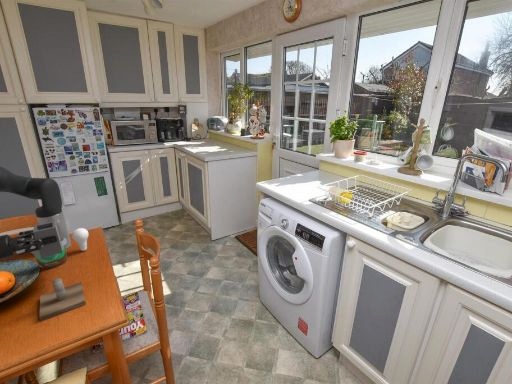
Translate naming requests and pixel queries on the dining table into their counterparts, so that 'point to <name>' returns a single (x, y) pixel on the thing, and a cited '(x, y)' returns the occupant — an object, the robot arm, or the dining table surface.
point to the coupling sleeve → (48, 231)
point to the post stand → (61, 299)
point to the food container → (52, 258)
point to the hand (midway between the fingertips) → (56, 234)
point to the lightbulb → (81, 238)
